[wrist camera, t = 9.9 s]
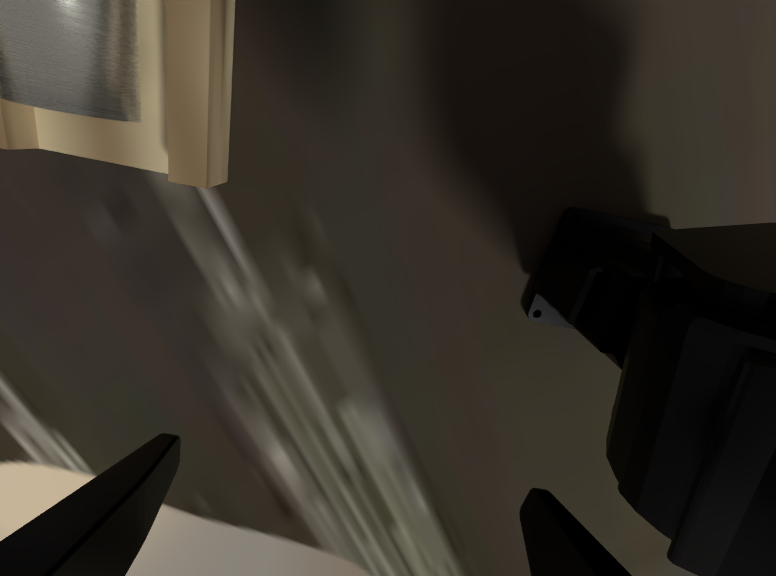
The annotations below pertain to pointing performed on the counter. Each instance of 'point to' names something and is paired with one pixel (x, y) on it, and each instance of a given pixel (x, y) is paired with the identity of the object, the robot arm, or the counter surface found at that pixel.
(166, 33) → the cradle
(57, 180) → the counter surface
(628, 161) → the counter surface
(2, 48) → the axle
